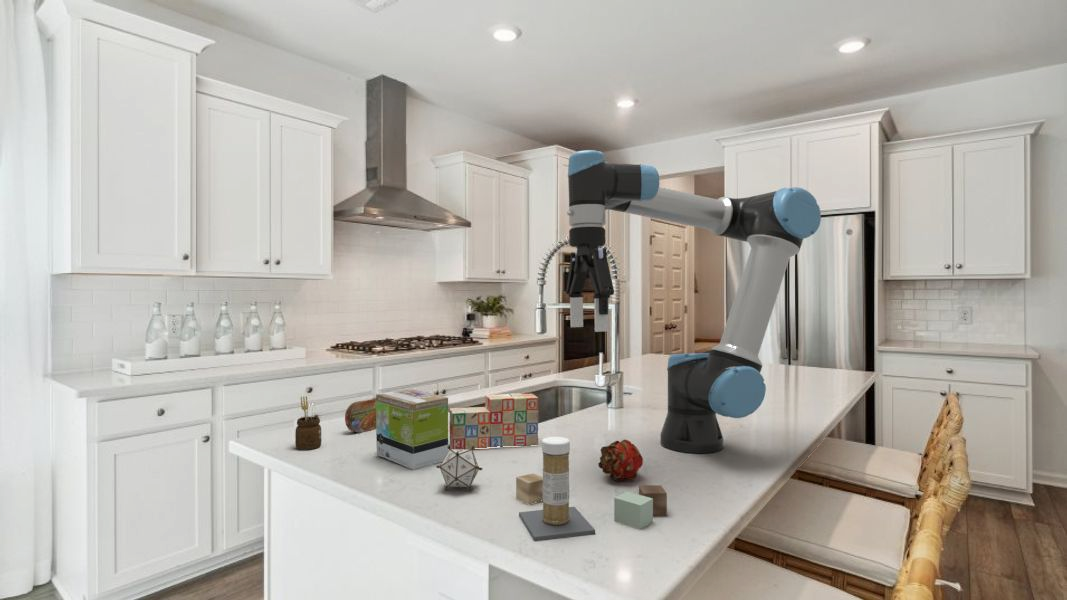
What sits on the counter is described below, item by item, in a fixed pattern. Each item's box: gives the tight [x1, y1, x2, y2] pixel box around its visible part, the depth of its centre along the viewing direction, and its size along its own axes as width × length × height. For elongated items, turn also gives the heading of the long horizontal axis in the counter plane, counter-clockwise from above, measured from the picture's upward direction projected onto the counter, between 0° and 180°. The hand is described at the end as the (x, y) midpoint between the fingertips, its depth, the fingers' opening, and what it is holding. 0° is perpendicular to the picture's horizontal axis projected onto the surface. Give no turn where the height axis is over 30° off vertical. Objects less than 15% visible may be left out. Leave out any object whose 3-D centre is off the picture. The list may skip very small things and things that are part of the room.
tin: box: [344, 397, 376, 434], centre depth 156 cm, size 15×3×8 cm, turn 147°
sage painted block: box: [613, 491, 654, 530], centre depth 94 cm, size 4×5×4 cm
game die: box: [435, 445, 483, 492], centre depth 110 cm, size 9×8×10 cm
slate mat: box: [518, 506, 596, 542], centre depth 93 cm, size 10×10×1 cm
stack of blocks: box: [448, 392, 540, 449], centre depth 140 cm, size 21×6×12 cm, turn 104°
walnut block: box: [638, 484, 668, 517], centre depth 99 cm, size 4×4×4 cm
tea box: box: [375, 388, 449, 471], centre depth 129 cm, size 15×10×15 cm, turn 47°
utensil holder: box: [294, 396, 322, 451], centre depth 138 cm, size 6×6×12 cm
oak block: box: [515, 472, 543, 505], centre depth 104 cm, size 4×4×4 cm
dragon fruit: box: [597, 439, 644, 482], centre depth 116 cm, size 8×8×12 cm
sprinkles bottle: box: [541, 436, 571, 525], centre depth 93 cm, size 5×5×14 cm
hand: (588, 329), depth 118 cm, fingers open, 13 cm apart
